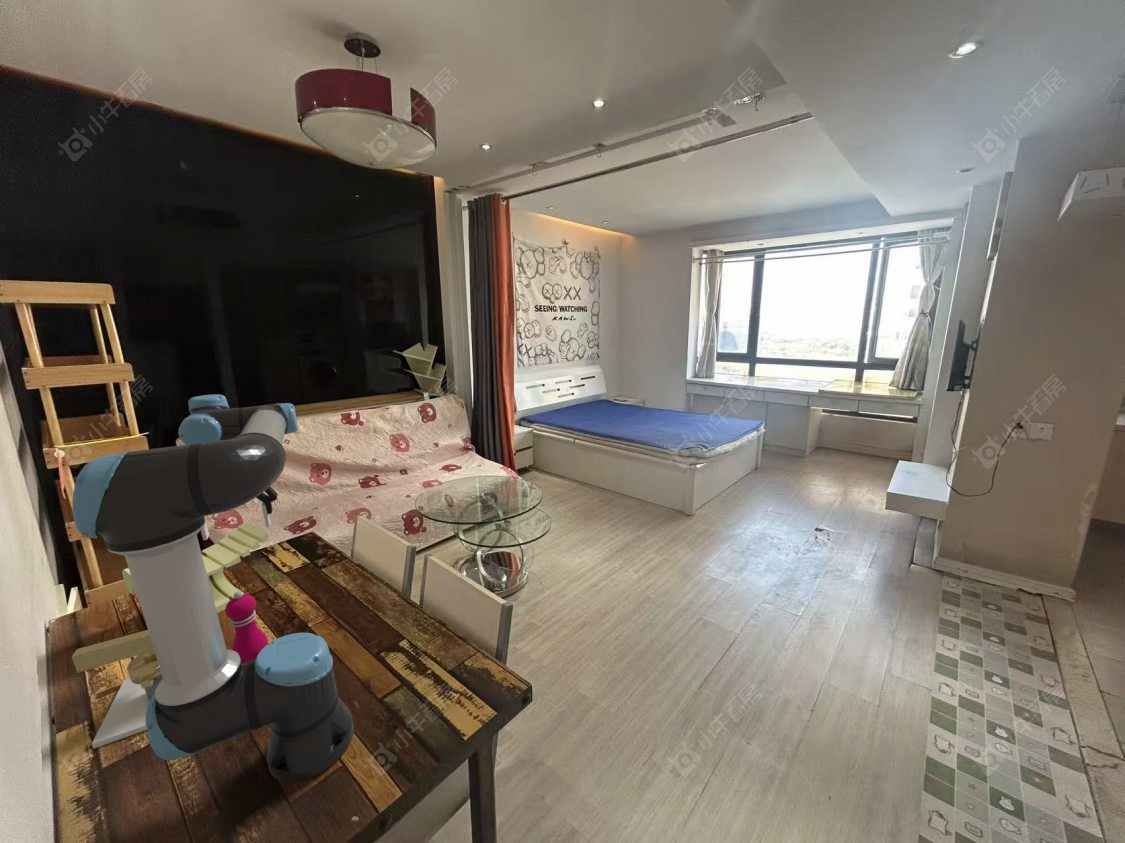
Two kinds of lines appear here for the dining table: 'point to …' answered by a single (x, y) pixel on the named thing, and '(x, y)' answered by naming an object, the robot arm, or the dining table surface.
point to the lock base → (126, 713)
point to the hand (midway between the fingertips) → (238, 531)
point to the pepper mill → (245, 627)
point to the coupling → (123, 657)
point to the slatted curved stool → (222, 561)
